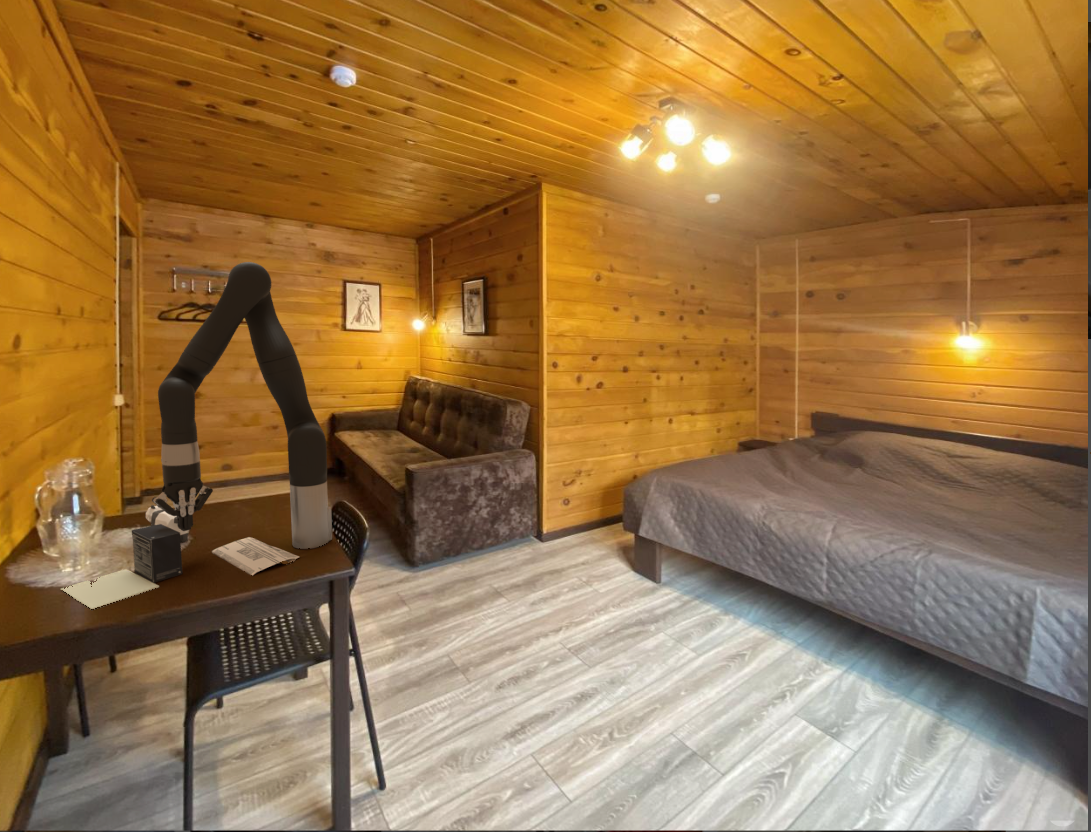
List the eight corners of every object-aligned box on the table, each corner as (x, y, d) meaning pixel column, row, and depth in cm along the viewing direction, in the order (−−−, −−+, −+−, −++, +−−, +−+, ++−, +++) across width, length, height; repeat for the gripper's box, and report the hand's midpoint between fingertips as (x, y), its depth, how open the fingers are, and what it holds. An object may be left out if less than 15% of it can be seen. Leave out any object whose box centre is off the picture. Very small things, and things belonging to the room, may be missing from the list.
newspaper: (302, 561, 133) (301, 552, 132) (253, 583, 123) (252, 573, 122) (259, 539, 146) (257, 531, 145) (211, 558, 136) (209, 549, 136)
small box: (185, 574, 123) (182, 531, 122) (153, 584, 118) (149, 540, 116) (165, 563, 129) (161, 522, 127) (133, 572, 123) (129, 529, 122)
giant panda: (192, 541, 143) (190, 507, 141) (170, 548, 138) (168, 513, 136) (161, 531, 149) (158, 499, 147) (139, 537, 144) (136, 504, 142)
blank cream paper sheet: (126, 570, 124) (126, 568, 124) (159, 587, 116) (159, 585, 116) (60, 590, 114) (60, 588, 114) (91, 610, 106) (91, 608, 106)
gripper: (157, 468, 118) (162, 541, 120) (218, 458, 129) (222, 525, 131) (141, 463, 121) (147, 534, 124) (202, 454, 133) (206, 519, 135)
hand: (185, 529), depth 127 cm, fingers closed
